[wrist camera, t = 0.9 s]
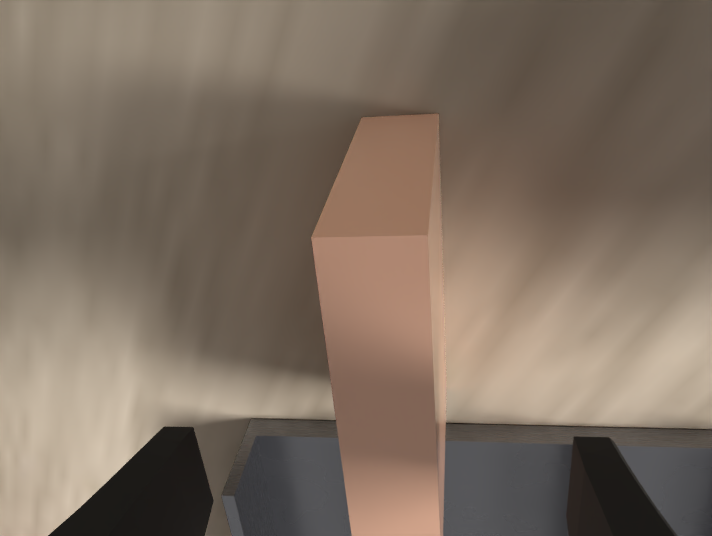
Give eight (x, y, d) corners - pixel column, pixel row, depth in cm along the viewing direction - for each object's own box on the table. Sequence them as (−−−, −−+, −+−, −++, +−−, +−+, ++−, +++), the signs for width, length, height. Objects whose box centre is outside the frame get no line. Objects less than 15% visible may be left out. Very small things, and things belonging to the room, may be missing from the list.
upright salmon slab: (438, 112, 17) (428, 235, 11) (446, 386, 22) (441, 580, 15) (362, 116, 17) (311, 237, 11) (385, 385, 22) (357, 575, 16)
